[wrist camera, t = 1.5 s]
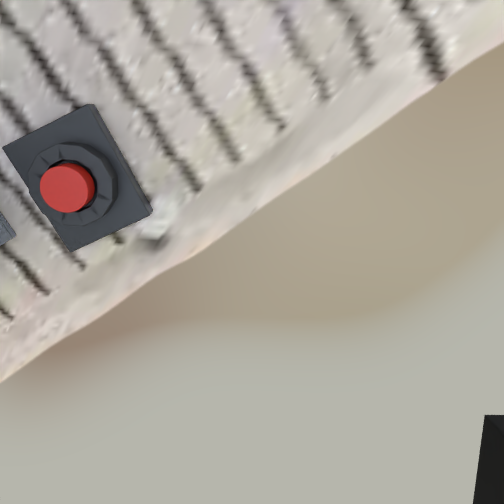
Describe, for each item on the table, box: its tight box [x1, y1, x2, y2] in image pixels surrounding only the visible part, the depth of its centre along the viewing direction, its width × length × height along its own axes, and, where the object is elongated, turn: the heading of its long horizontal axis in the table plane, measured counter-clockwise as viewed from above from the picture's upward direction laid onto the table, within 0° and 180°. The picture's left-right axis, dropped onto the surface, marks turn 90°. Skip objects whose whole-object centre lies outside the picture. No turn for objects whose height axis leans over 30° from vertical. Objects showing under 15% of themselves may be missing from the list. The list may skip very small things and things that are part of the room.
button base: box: [2, 104, 153, 252], centre depth 35 cm, size 10×8×4 cm
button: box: [40, 163, 95, 213], centre depth 32 cm, size 4×4×2 cm
